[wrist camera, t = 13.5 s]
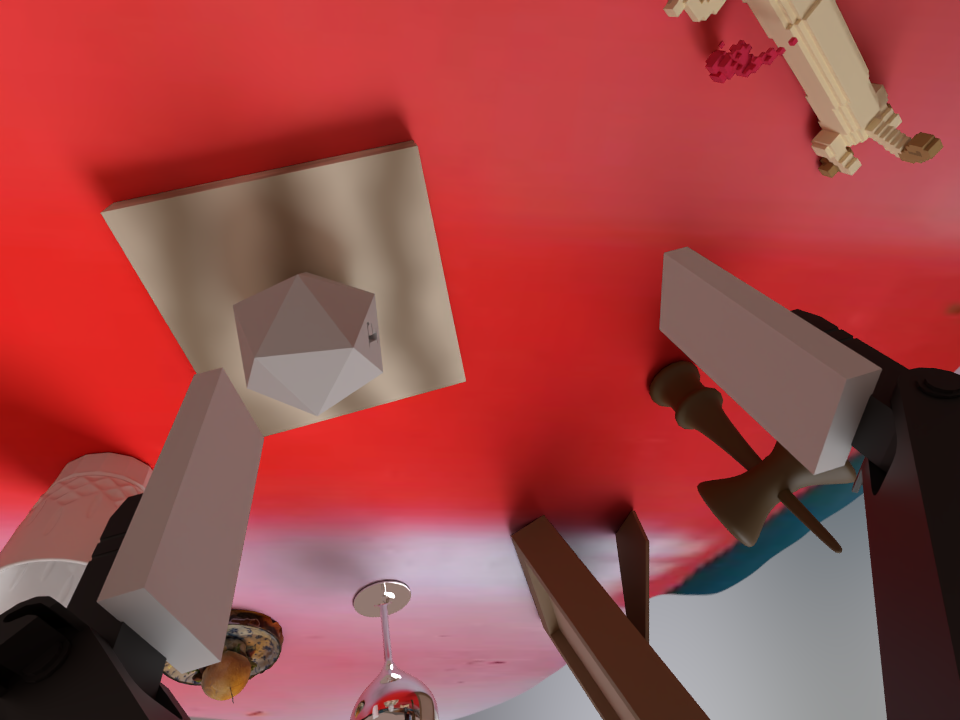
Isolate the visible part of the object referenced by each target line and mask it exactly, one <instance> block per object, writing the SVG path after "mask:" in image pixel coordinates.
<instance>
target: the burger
mask: <svg viewBox="0 0 960 720" xmlns="http://www.w3.org/2000/svg"><path fill="white" fill-rule="evenodd" d="M283 638H284V637H283V635H282V628H281V626H279V624H278V623H277V622H275V623H272V621H271V617H268V616H266V615H264V614H261V613H257V612H253V611H245V610H231V612H230V617H229V623H228V628H227V633H226V638H225V643H224V648H223V654H222V659H221V662H218V663H215V664H212V665H209V666H205V667H202V668H199V669H196V670H193V671H190V672H186V673H183V674H181V673H180V672H179V671H178V670H176V669H175V668H174V667H173V666H172V665H171V664H169V663H168V662H167V661H166V663H165V667H164V670H163V674H164V675H166V676H167V677H169V678H171V679H173V680H175V681H177V682H179V683H183V684H188V685H202V689H203V691H204V692H205V694H206V695H207V696H209V697H210V698H213V699H216V700H227V699H230V698H232V701H233V697H234V696H235V695H237V694H238V693H239V692H241V691H242V689H243V688H244V687H245V685H246V684H247V682H248V680H249V679H251V678H253V677H254V676H255V675H257V674H259V673H263V672H264V671H265V670H267V669H269V668H271V667H272V666H273V664H274V663H275V662H276V661H277V659H278V658H279V655H280V653H281V648H282V643H283ZM233 703H234V702H233Z"/></svg>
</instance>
